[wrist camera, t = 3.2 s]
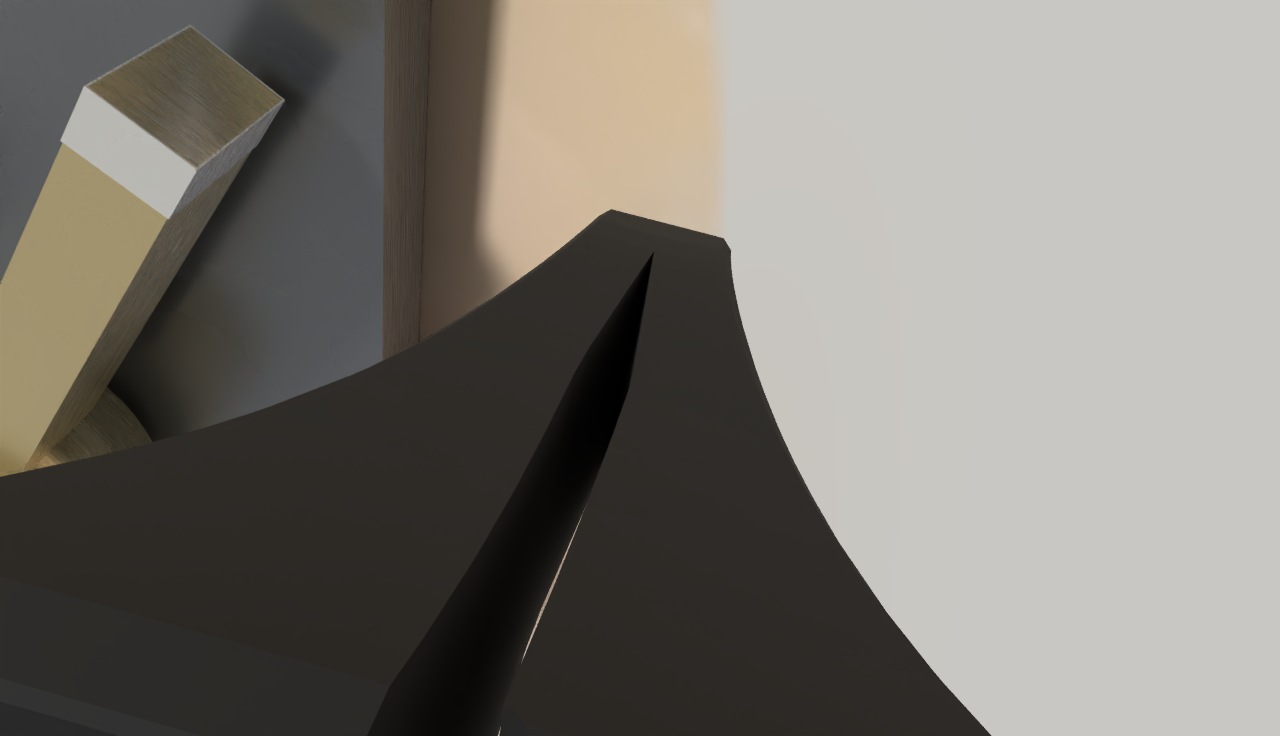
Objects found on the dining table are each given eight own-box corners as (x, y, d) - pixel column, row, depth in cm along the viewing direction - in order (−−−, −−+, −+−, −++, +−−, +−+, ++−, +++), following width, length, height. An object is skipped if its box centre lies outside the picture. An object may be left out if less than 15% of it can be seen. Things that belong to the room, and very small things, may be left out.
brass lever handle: (114, 557, 18) (11, 683, 16) (-109, 423, 17) (-253, 539, 15) (413, 172, 12) (308, 294, 10) (89, -89, 11) (-115, -17, 8)
